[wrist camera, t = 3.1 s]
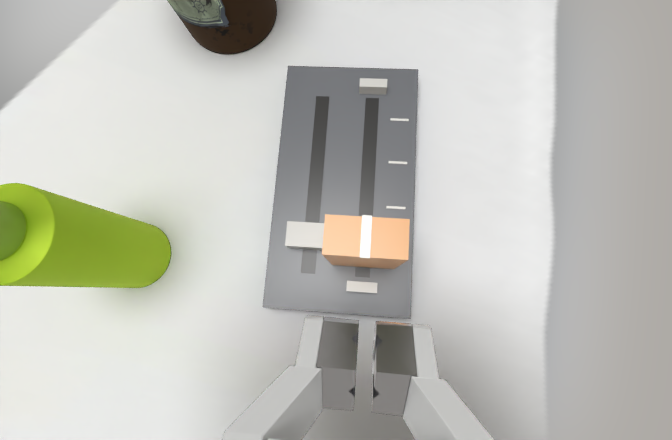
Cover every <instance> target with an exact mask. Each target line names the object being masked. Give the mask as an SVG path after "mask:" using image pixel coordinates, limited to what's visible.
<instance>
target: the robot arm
mask: <svg viewBox="0 0 672 440" xmlns="http://www.w3.org/2000/svg"><path fill="white" fill-rule="evenodd" d="M358 328H359V320H351V319H341V318H332V317H321V316H310V315H307V316H306V318H305V320H304V325H303V330H302V334H301V339H300V344H299V349H298V353H297V358H296V363H295V366H289V367H288V368H287V369H286V370H285V371H284V372H283V373H282V374H281V375H280V376H279V377H278V378H277V379H276V380H275V381H274V382H273V383H272V384H271V385H270V386H269V387H268V388H267V389H266V390H265V391H264V392H263V393H262V394H261V395H260V396H259V397H258V398H257V399H256V400H255V401H254V402H253V403H252V404H251V405H250V406H249V407H248V408H247V409H246V410H245V411H244V412H243V413H242V414H241V415H240V416H239V417H238V418H237V419H236V420H235V421H234V422H233V423H232V424H231V425H230V426H229V427H228V428H227V429H226V430H225V431H224V434H223V437H222V440H302V438H303V437H304V436H305V434H306V433H307V431H308V430H309V429H310V427H311V426H312V424H313V423H314V422H315V420H316V419H317V417H318V416H319V415H320V413H321V412H322V408H324V409H339V410H353V408H354V396H355V381H356V364H357V346H358ZM372 375H373V380H372V412H373V413H381V414H389V415H397V416H403V419H404V421H405V423H406V425H407V426H408V428H409V430H410V432H411V433H412V435H413V437H414V439H415V440H494V439H493V438H492V436H491V435H490V434H489V433H488V431H487V430H486V429H485V428H484V426H483V425H482V424H481V423H480V422H479V420H478V419H477V418H476V417H475V415H474V414H473V413H472V412H471V411H470V409H469V408H468V407H467V406H466V404H465V403H464V402H463V401H462V400H461V398H460V397H459V396H458V395H457V393H456V392H455V391H454V390H453V389H452V387H451V386H450V385H449V384H448V382H447V381H446V380H444V379H439V373H438V366H437V360H436V354H435V347H434V341H433V335H432V328H431V327H430V325H420V324H411V323H396V322H381V321H376V323H375V338H374V341H373V354H372Z"/></svg>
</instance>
